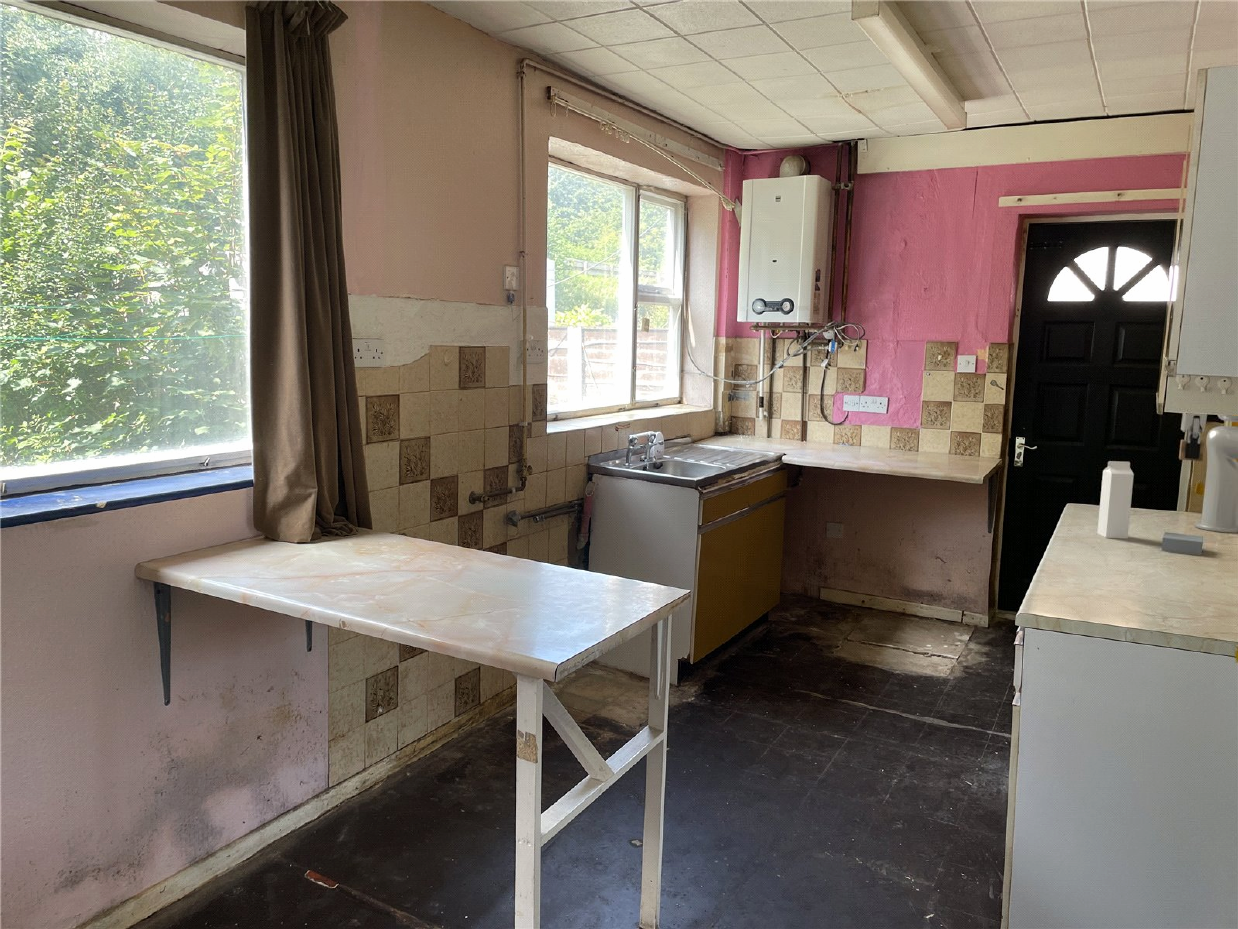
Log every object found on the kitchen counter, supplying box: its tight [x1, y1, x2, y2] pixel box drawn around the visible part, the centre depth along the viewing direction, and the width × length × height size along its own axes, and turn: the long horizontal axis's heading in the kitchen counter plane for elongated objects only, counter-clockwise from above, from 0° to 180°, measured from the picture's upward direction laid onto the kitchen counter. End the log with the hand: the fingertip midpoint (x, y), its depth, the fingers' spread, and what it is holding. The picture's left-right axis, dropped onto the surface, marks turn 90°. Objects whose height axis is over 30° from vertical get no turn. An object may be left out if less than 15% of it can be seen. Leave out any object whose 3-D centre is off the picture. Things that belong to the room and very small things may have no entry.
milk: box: [1096, 460, 1135, 540], centre depth 253 cm, size 6×6×22 cm
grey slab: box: [1161, 531, 1204, 557], centre depth 238 cm, size 9×9×4 cm
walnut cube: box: [1178, 439, 1205, 462], centre depth 234 cm, size 5×5×5 cm
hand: (1191, 456), depth 235 cm, fingers closed on walnut cube, 5 cm apart
